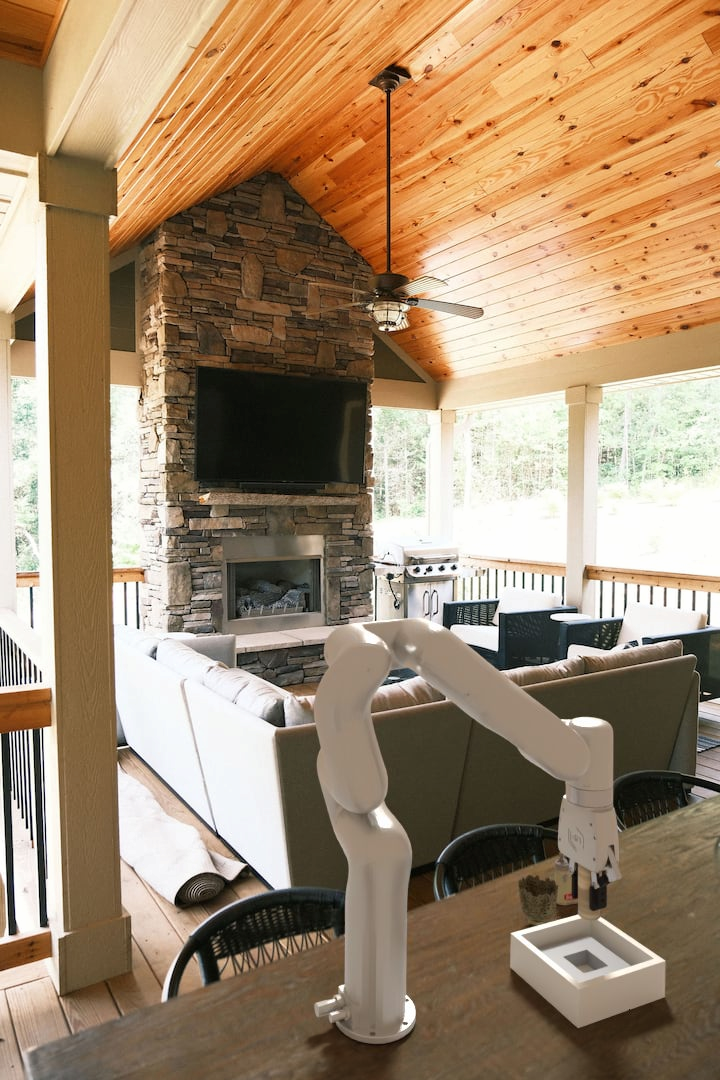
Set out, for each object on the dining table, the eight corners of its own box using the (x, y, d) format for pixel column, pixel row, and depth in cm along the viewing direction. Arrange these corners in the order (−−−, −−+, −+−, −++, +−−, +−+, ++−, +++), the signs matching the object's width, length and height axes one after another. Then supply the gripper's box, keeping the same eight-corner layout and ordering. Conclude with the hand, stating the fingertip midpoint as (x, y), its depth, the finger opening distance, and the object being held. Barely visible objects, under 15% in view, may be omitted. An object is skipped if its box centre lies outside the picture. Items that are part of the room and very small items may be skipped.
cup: (512, 929, 142) (513, 887, 142) (523, 911, 148) (524, 871, 148) (552, 939, 138) (553, 896, 138) (561, 921, 145) (562, 880, 145)
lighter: (559, 907, 150) (560, 857, 150) (548, 898, 153) (549, 849, 153) (589, 901, 152) (590, 852, 152) (578, 892, 156) (579, 845, 156)
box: (578, 1028, 114) (578, 989, 114) (510, 967, 130) (510, 933, 129) (664, 997, 122) (665, 960, 122) (591, 943, 137) (591, 910, 137)
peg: (588, 922, 123) (588, 862, 123) (573, 911, 126) (573, 853, 126) (605, 917, 125) (605, 857, 124) (589, 907, 128) (590, 849, 128)
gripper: (539, 781, 131) (539, 885, 131) (608, 815, 116) (607, 932, 116) (572, 775, 134) (572, 876, 135) (644, 807, 119) (643, 921, 120)
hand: (588, 901), depth 125 cm, fingers closed on peg, 3 cm apart
